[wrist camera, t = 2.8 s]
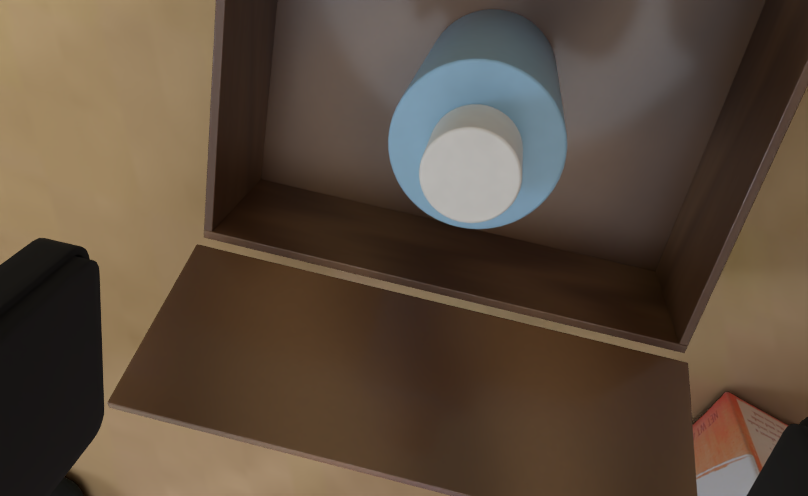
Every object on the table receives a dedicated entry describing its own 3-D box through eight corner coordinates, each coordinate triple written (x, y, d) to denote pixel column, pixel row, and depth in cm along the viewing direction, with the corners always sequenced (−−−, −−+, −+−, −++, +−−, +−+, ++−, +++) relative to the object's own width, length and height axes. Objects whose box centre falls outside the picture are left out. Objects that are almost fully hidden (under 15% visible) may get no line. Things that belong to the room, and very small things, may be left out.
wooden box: (799, -66, 22) (871, -54, 17) (658, 276, 28) (684, 353, 23) (287, -172, 23) (224, -187, 18) (256, 181, 29) (203, 237, 24)
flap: (702, 555, 19) (697, 559, 19) (688, 362, 23) (684, 367, 23) (106, 402, 20) (108, 408, 20) (196, 243, 24) (197, 249, 24)
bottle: (573, 24, 24) (598, 104, 15) (537, 150, 26) (540, 283, 17) (441, -4, 24) (390, 57, 15) (416, 123, 26) (359, 240, 18)
